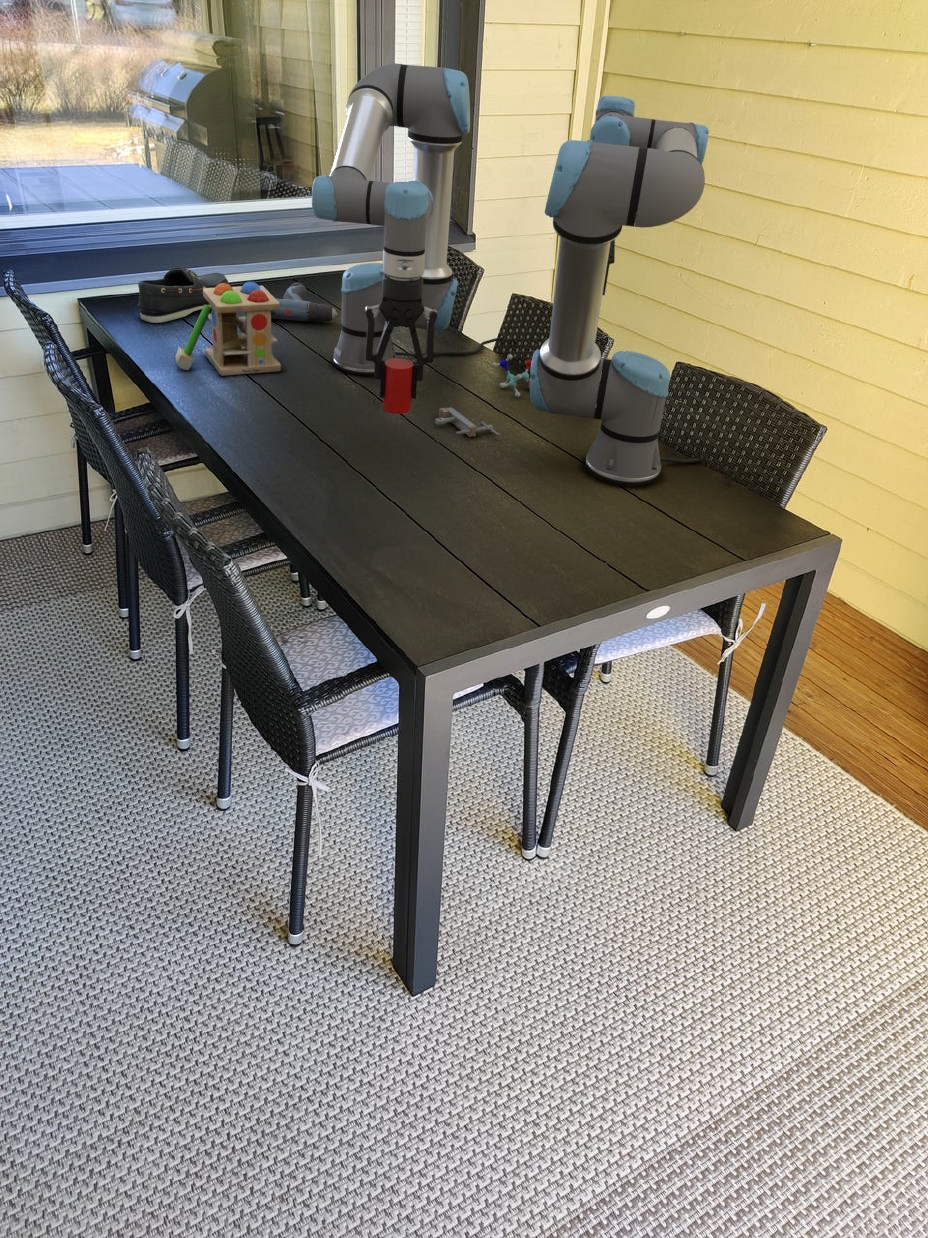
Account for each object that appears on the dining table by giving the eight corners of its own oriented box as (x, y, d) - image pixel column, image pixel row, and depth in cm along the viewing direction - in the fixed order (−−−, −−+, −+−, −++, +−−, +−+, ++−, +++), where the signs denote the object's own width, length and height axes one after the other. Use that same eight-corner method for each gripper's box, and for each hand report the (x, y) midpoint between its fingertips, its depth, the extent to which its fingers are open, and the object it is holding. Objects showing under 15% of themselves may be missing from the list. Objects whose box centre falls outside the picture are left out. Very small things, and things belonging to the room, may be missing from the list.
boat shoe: (248, 301, 272) (246, 262, 267) (158, 325, 248) (153, 283, 243) (214, 293, 278) (211, 255, 272) (123, 315, 254) (117, 274, 248)
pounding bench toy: (183, 379, 220) (176, 299, 210) (169, 357, 231) (162, 280, 221) (282, 371, 230) (280, 294, 220) (264, 350, 240) (262, 276, 230)
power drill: (344, 304, 276) (335, 327, 259) (277, 298, 275) (264, 321, 258) (344, 285, 273) (335, 306, 256) (277, 279, 272) (264, 300, 255)
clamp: (427, 409, 212) (467, 404, 217) (426, 419, 213) (466, 413, 218) (461, 437, 202) (502, 430, 206) (460, 447, 203) (501, 440, 208)
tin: (391, 400, 197) (393, 356, 192) (415, 407, 195) (418, 362, 190) (378, 409, 193) (379, 364, 187) (402, 416, 191) (405, 370, 186)
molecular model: (537, 389, 224) (523, 346, 222) (499, 403, 227) (485, 361, 226) (549, 388, 234) (536, 347, 233) (513, 401, 238) (500, 361, 237)
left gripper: (352, 278, 175) (350, 401, 188) (455, 283, 177) (446, 404, 191) (351, 266, 181) (349, 386, 194) (451, 271, 184) (442, 389, 197)
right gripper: (571, 168, 212) (557, 268, 224) (605, 193, 192) (588, 302, 204) (604, 169, 213) (589, 269, 225) (641, 194, 193) (623, 303, 205)
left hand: (397, 395), depth 192 cm, fingers closed on tin, 5 cm apart
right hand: (588, 285), depth 214 cm, fingers open, 13 cm apart
